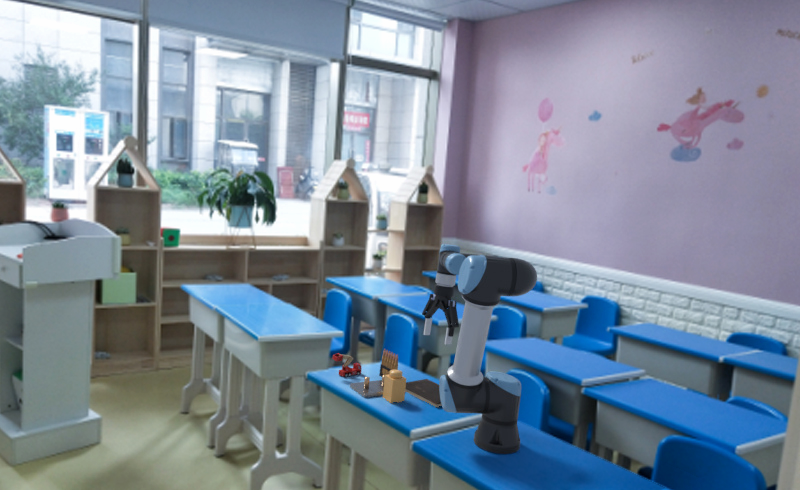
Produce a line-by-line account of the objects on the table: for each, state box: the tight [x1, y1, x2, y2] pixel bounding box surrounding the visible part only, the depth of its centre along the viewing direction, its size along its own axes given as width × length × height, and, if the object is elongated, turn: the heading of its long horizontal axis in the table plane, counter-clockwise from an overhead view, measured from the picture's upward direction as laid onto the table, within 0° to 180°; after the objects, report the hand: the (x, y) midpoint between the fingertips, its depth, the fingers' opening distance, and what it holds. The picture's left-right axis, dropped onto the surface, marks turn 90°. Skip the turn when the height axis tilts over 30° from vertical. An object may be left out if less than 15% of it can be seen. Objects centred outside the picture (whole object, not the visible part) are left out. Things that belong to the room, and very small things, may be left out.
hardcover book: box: [405, 378, 442, 408], centre depth 242 cm, size 16×23×2 cm
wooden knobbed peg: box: [382, 369, 407, 404], centre depth 232 cm, size 6×6×11 cm
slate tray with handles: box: [349, 375, 385, 398], centre depth 240 cm, size 12×16×6 cm
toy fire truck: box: [331, 352, 363, 378], centre depth 255 cm, size 3×14×10 cm, turn 130°
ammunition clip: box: [379, 348, 399, 378], centre depth 255 cm, size 11×2×12 cm, turn 37°
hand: (436, 339), depth 233 cm, fingers open, 13 cm apart
